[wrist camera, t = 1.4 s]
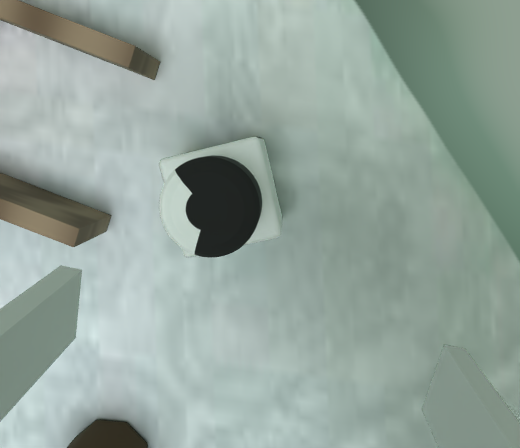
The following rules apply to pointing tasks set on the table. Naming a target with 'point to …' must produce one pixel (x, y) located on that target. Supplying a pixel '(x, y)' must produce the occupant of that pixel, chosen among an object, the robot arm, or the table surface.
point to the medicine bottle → (220, 198)
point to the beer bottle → (108, 436)
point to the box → (34, 198)
